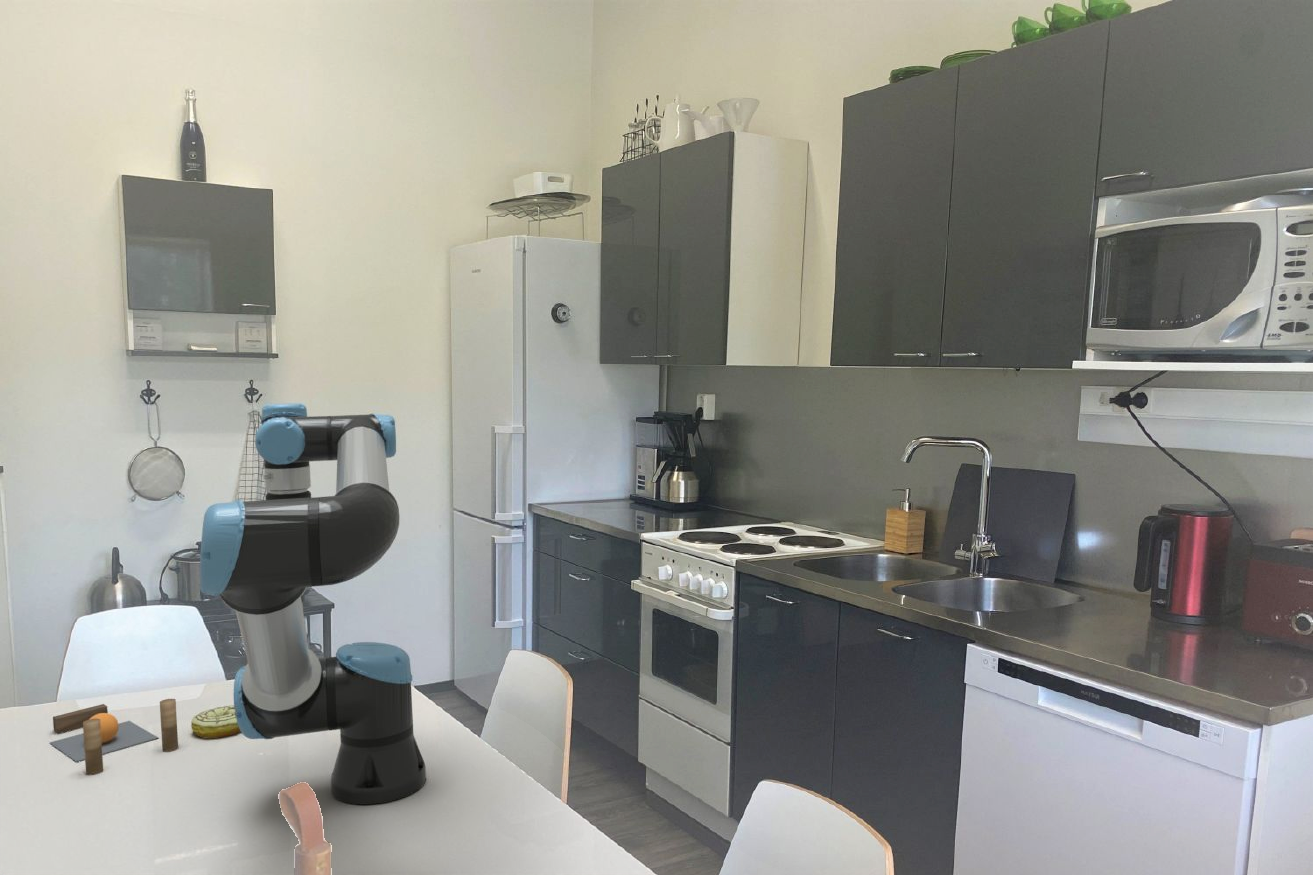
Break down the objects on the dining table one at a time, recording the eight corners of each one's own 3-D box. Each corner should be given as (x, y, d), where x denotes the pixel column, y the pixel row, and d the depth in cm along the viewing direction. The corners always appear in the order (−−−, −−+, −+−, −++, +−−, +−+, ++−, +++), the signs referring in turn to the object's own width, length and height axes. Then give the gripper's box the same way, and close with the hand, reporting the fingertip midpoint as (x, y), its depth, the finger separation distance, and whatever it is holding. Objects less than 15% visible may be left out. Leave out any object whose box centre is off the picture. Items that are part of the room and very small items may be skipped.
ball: (108, 720, 183) (118, 744, 181) (76, 728, 179) (86, 753, 176) (116, 703, 180) (126, 728, 178) (84, 711, 176) (93, 737, 174)
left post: (105, 770, 166) (102, 720, 165) (89, 775, 164) (85, 725, 163) (100, 767, 167) (96, 717, 167) (83, 772, 165) (80, 721, 165)
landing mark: (158, 738, 180) (158, 737, 180) (76, 762, 170) (76, 761, 170) (129, 721, 189) (129, 720, 189) (49, 743, 179) (49, 742, 179)
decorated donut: (264, 725, 187) (263, 707, 186) (215, 744, 177) (214, 725, 177) (229, 716, 192) (229, 698, 191) (180, 735, 182) (179, 715, 182)
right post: (180, 748, 175) (177, 700, 175) (165, 752, 173) (163, 704, 173) (174, 744, 177) (172, 697, 176) (160, 749, 175) (157, 701, 174)
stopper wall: (108, 720, 190) (107, 706, 190) (57, 734, 183) (56, 719, 183) (104, 718, 191) (103, 703, 191) (53, 731, 185) (52, 716, 184)
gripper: (249, 490, 169) (256, 620, 171) (286, 496, 161) (293, 633, 162) (289, 486, 175) (295, 612, 176) (327, 491, 166) (333, 623, 168)
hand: (294, 622), depth 169 cm, fingers closed
